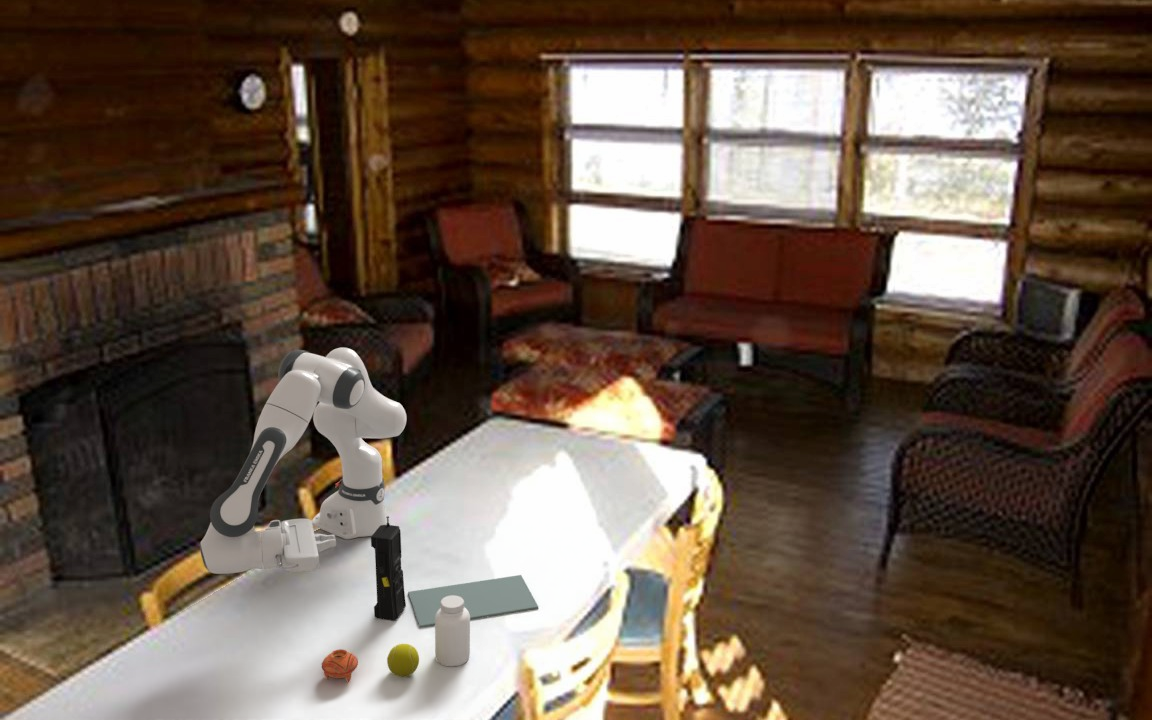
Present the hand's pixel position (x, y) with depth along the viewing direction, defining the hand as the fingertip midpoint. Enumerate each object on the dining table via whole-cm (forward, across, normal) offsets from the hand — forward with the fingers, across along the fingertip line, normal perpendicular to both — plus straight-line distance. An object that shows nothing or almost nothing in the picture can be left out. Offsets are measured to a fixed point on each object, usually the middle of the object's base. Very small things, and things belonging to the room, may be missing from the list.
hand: (335, 540), depth 241 cm
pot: (-2, -21, +23) cm, 31 cm away
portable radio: (+12, 0, +22) cm, 26 cm away
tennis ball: (+11, -24, +23) cm, 35 cm away
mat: (+33, 0, +22) cm, 40 cm away
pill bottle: (+23, -22, +23) cm, 39 cm away
